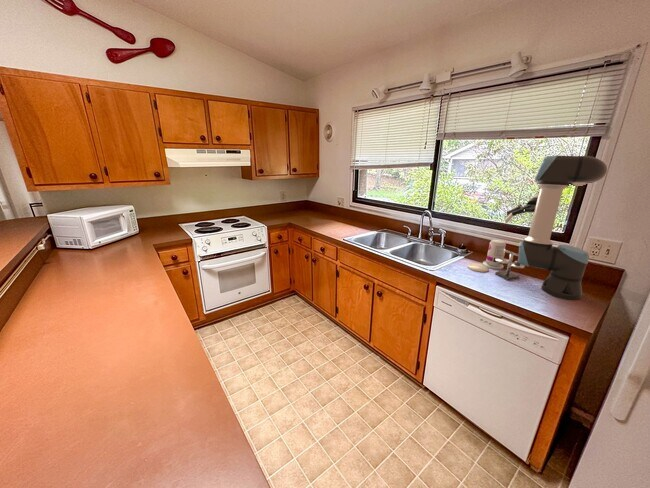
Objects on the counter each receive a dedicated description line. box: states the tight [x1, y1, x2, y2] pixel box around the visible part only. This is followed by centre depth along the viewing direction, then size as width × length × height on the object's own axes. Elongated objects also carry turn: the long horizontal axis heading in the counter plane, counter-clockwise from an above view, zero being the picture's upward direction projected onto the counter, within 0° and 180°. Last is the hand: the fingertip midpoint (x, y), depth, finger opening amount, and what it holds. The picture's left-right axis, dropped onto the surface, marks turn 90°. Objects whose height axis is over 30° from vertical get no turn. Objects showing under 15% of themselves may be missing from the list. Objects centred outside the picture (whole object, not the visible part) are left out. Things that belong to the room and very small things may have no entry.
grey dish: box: [482, 260, 504, 270], centre depth 164 cm, size 11×11×1 cm
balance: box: [494, 249, 525, 281], centre depth 147 cm, size 8×19×17 cm, turn 109°
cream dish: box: [467, 262, 490, 273], centre depth 161 cm, size 11×11×1 cm
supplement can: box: [485, 238, 507, 267], centre depth 162 cm, size 8×8×15 cm
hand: (518, 222), depth 154 cm, fingers open, 13 cm apart
